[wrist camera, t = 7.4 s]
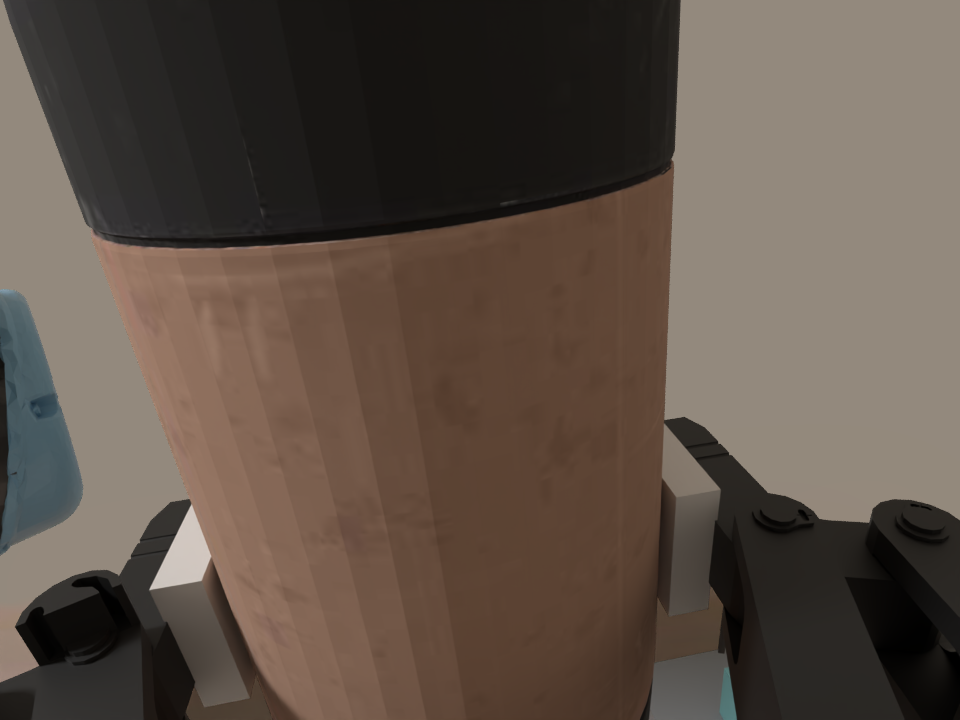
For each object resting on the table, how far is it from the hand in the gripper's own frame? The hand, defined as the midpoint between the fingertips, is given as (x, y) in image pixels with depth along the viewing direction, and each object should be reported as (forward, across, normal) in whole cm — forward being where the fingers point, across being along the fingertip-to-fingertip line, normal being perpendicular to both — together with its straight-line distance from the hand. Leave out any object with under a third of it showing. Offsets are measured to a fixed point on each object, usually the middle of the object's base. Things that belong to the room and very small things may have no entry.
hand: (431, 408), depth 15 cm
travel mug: (-5, 0, -11) cm, 12 cm away
